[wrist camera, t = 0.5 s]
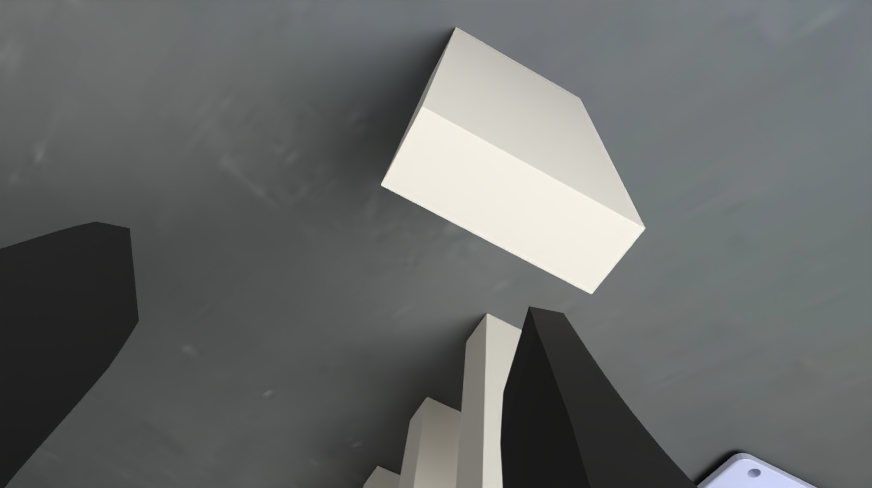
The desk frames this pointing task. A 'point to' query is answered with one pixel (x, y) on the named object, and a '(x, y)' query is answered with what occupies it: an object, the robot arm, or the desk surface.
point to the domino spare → (515, 165)
